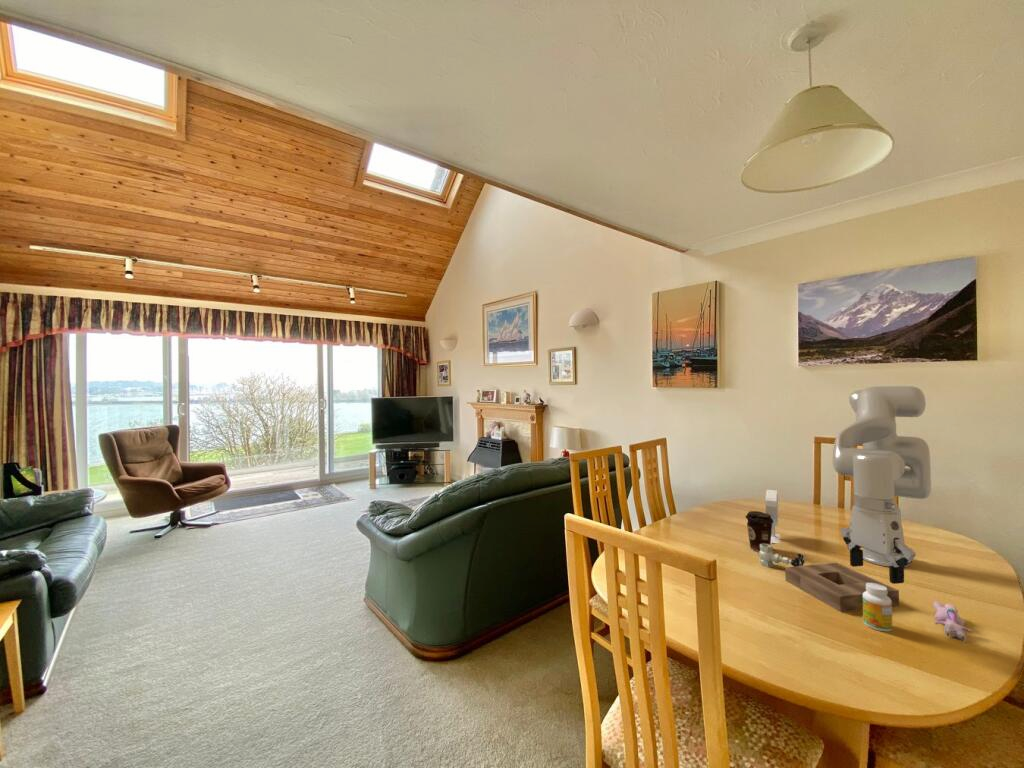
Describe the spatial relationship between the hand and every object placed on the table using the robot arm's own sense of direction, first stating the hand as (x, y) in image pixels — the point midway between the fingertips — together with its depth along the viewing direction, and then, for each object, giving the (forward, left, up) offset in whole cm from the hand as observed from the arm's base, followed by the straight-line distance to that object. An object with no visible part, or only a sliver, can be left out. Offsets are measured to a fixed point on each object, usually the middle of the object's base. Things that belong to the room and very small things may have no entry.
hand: (875, 573), depth 102 cm
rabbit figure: (-17, +3, -13) cm, 21 cm away
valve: (-2, -33, -13) cm, 36 cm away
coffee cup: (-7, -48, -13) cm, 51 cm away
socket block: (-6, -16, -13) cm, 22 cm away
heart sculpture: (-20, -57, -13) cm, 62 cm away
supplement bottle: (0, 0, -13) cm, 13 cm away
